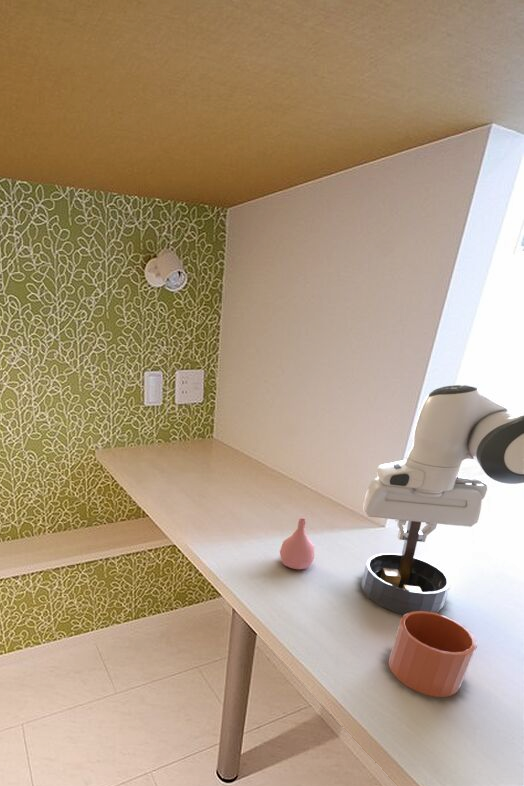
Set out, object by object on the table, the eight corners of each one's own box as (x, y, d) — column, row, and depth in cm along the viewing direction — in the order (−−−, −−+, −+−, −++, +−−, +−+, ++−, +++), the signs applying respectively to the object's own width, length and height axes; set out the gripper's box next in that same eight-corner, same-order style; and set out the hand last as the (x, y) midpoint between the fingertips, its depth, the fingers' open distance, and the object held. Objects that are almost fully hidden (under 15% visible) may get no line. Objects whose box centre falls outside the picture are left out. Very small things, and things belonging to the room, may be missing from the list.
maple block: (394, 581, 94) (397, 569, 93) (397, 589, 91) (401, 576, 90) (379, 579, 94) (382, 567, 93) (382, 587, 92) (385, 575, 90)
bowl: (428, 581, 96) (435, 557, 93) (452, 624, 82) (462, 598, 80) (355, 572, 98) (360, 549, 96) (367, 613, 85) (374, 587, 82)
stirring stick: (406, 577, 92) (423, 498, 85) (408, 581, 91) (425, 502, 83) (397, 576, 93) (412, 498, 85) (399, 581, 91) (415, 502, 84)
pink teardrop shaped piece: (304, 557, 104) (311, 511, 99) (318, 574, 97) (327, 526, 92) (273, 559, 103) (279, 513, 98) (285, 576, 96) (292, 528, 91)
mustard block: (415, 599, 88) (419, 586, 87) (420, 607, 85) (424, 595, 84) (400, 596, 89) (403, 584, 87) (403, 605, 86) (407, 593, 85)
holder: (445, 658, 74) (461, 615, 70) (468, 706, 65) (488, 660, 61) (381, 649, 76) (393, 607, 72) (395, 693, 67) (410, 648, 63)
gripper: (483, 474, 83) (461, 538, 89) (369, 465, 86) (355, 527, 92) (498, 485, 77) (473, 553, 83) (375, 475, 81) (360, 540, 87)
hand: (410, 539), depth 88 cm, fingers closed on stirring stick, 2 cm apart
